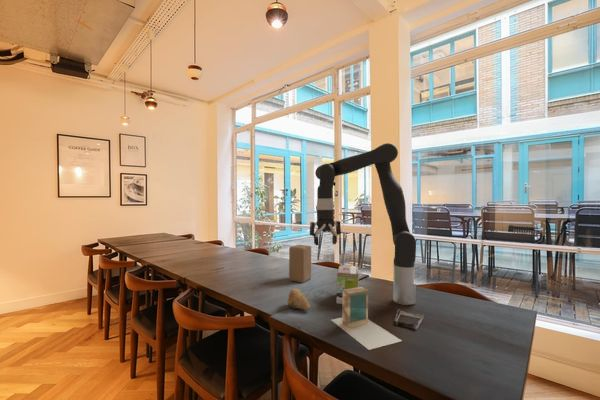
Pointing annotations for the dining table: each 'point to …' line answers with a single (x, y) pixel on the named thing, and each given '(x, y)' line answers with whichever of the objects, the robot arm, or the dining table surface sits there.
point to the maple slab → (354, 307)
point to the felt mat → (369, 334)
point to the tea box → (346, 280)
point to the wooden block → (300, 263)
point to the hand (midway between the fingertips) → (325, 244)
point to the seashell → (298, 300)
